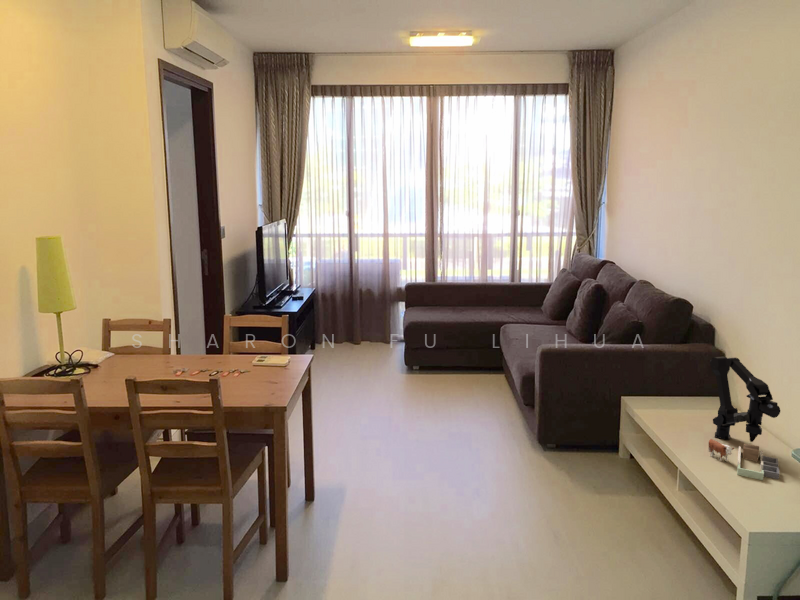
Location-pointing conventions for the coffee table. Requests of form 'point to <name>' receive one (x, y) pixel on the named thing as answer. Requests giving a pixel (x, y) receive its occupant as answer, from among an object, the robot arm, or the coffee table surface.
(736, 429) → the coffee table surface
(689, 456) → the coffee table surface
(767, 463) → the trap pen
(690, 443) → the coffee table surface
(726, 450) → the bull figurine
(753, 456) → the walnut block
